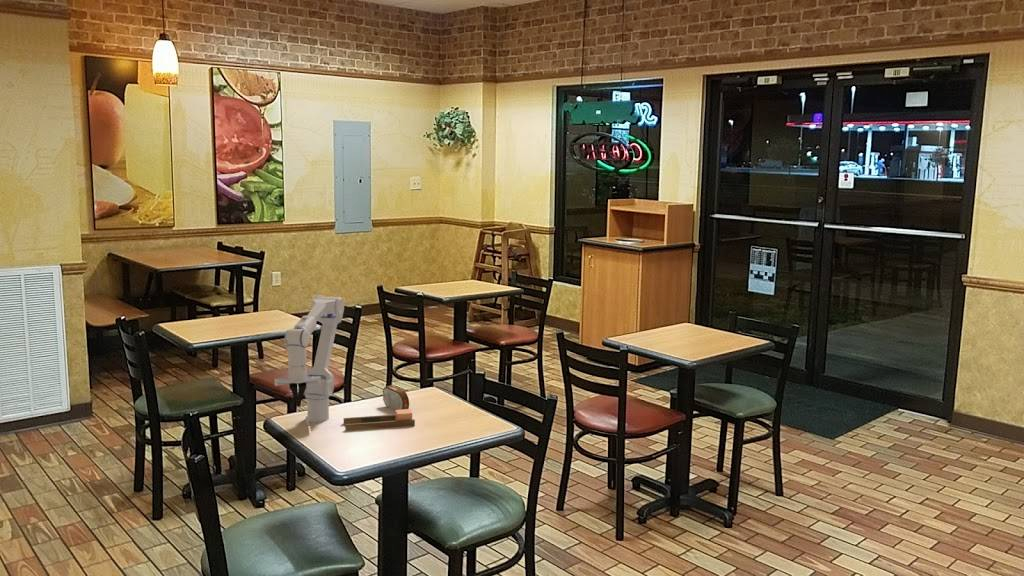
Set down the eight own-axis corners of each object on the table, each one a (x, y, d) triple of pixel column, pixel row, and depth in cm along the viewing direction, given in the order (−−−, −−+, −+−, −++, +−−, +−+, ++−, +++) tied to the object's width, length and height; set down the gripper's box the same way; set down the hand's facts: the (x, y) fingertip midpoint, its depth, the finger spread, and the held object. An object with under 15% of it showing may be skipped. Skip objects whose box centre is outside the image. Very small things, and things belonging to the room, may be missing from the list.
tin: (410, 414, 293) (410, 391, 292) (402, 415, 291) (402, 392, 290) (388, 404, 305) (388, 382, 303) (381, 406, 303) (381, 384, 301)
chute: (343, 426, 277) (343, 418, 277) (410, 421, 284) (410, 413, 284) (345, 433, 270) (345, 425, 269) (414, 428, 276) (414, 420, 276)
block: (395, 421, 281) (395, 409, 280) (409, 420, 282) (409, 409, 282) (397, 425, 276) (397, 414, 276) (412, 424, 278) (412, 413, 277)
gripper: (274, 369, 259) (275, 410, 261) (321, 366, 263) (321, 407, 265) (274, 364, 265) (275, 404, 267) (319, 361, 270) (320, 401, 271)
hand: (298, 405), depth 266 cm, fingers closed
